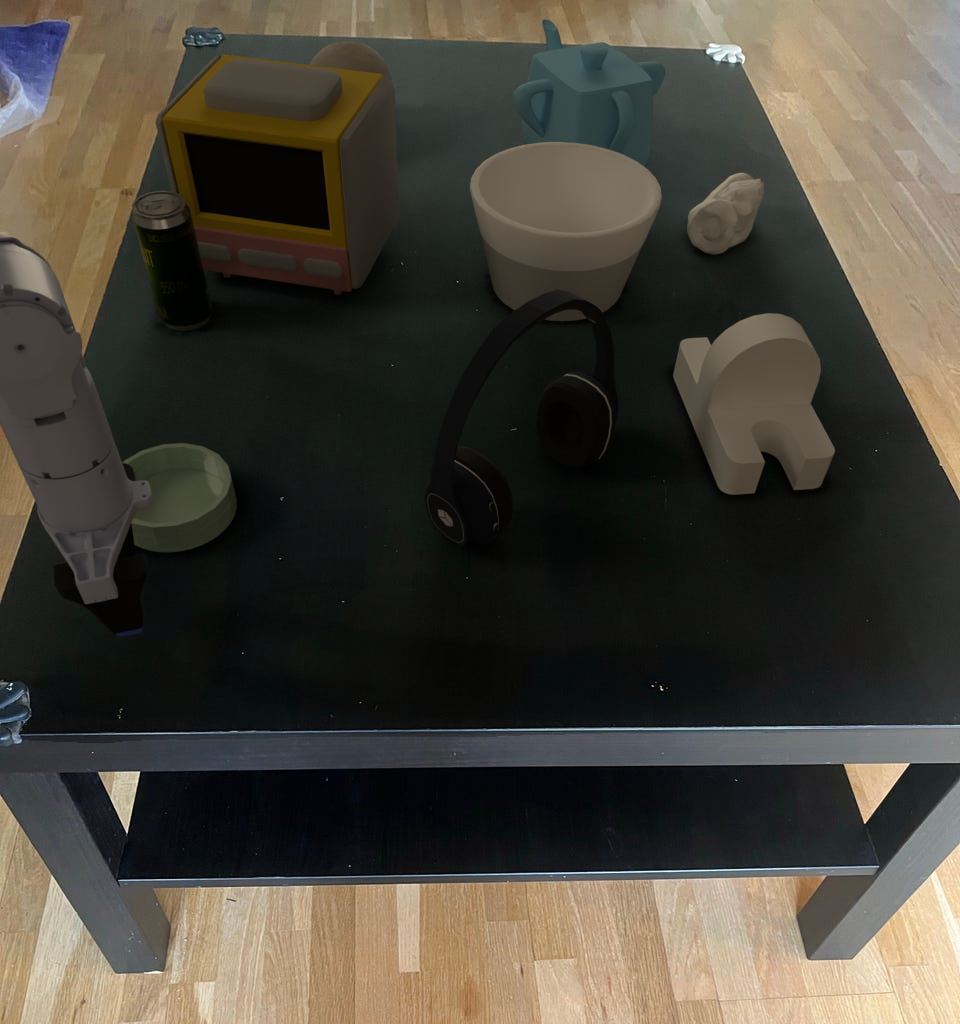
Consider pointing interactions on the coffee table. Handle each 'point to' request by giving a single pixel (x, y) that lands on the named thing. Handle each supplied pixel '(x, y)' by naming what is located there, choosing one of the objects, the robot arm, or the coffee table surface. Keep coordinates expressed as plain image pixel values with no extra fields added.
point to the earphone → (560, 425)
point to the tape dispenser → (755, 402)
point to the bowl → (562, 221)
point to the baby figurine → (726, 214)
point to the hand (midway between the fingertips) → (124, 593)
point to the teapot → (589, 97)
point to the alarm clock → (285, 169)
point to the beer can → (172, 259)
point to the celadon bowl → (182, 497)
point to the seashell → (351, 58)
